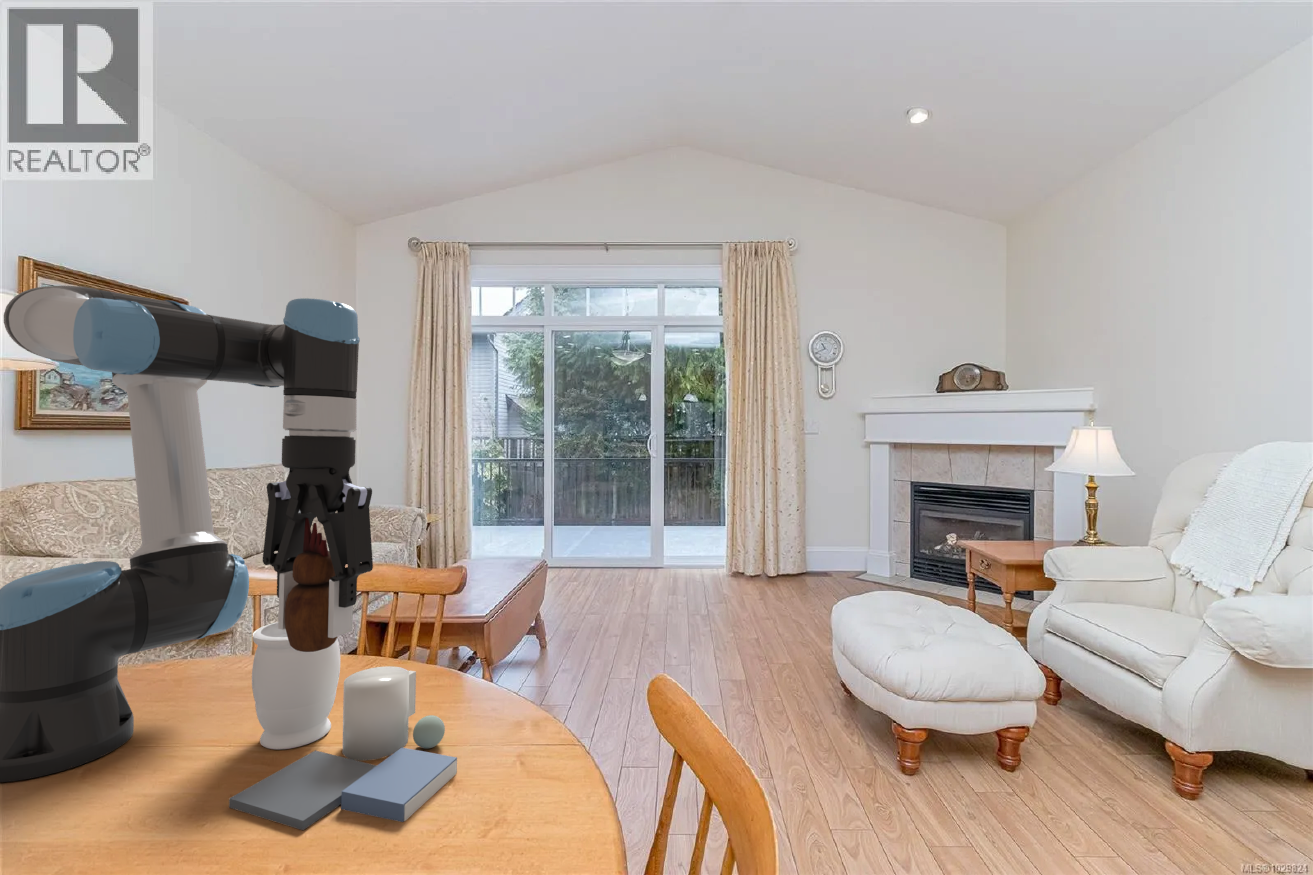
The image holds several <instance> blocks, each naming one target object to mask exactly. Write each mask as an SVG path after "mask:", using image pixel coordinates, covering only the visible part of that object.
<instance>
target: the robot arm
mask: <svg viewBox="0 0 1313 875" xmlns="http://www.w3.org/2000/svg"><path fill="white" fill-rule="evenodd" d="M282 319H283V321H282V322H283V323H282V324H269V323H262V322H255V321H250V320H243V319H237V318H230V317H224V316H220V315H219V316H218V315H212V314H207V313H206V312H205V311H204V310H202V309H200V308H199V307H196V306H193V305H188V304H185V303H180V302H178V301H176V300H175V301H174V300H169V299H168V300H167V299H166V300H161V299H158V298H157V299H156V298H150V297H144V296H138V295H133V294H125V293H121V292H114V291H110V290H103V289H98V288H92V287H86V286H79V285H78V286H76V285H47V286H39V287H38V286H37V287H33V288H30V289H27V290H24V291H21V292H20V293H18V294H17V295H15V296H14V297H13V298H11V300H9V302H8V303H7V304H6V306H5V308H4V312H3V324H4V328H5V331H6V332H7V334H8V335H9V337H10V338H11V340H13V342H15V343H16V344H17V345H18V346H19V347H20V348H21V349H24V350H25V351H27V352H29V353H31V354H34V355H36V356H39V357H40V358H41V357H42V358H44V359H49V360H51V361H56V362H61V363H63V364H64V363H66V364H70V365H76V366H84V367H85V368H87V369H89V370H94V371H102V372H108V373H109V372H111V377H112V383H113V385H115V386H116V387H118V388H119V389H121V390H122V391H125V393H127V401H128V402H127V404H128V413H129V423H130V424H129V425H130V434H131V435H130V436H131V444H132V454H133V456H132V457H133V462H134V463H133V464H134V475H135V484H136V495H137V496H136V497H137V507H138V516H139V526H140V536H141V537H140V538H141V545H140V546H139V547H138V548H137V550H136V551H134V553H132V555H131V556H130V557H129V566H130V568H129V569H122V567H120V564H119V563H118V562H116V561H111V560H108V561H107V560H99V561H93V562H88V563H87V562H86V563H83V562H82V563H75V564H68V565H63V566H59V567H53V568H50V569H45V570H42V571H37V572H35V573H31V574H28V575H24V576H22V577H19V578H17V579H14V580H12V581H10V582H8V583H6V584H4V585H3V586H2V587H1V588H0V783H7V782H8V783H9V782H15V781H23V780H29V779H34V778H38V777H39V778H40V777H43V776H48V775H52V774H55V773H59V772H60V773H61V772H63V771H66V770H70V769H72V768H75V767H76V768H77V767H78V766H81V765H84V764H86V763H89V762H92V761H95V760H96V759H99V758H102V757H103V756H106V755H108V754H109V753H111V752H113V751H115V750H117V749H118V748H119V747H121V746H123V745H124V744H125V743H127V742H128V741H129V740H130V739H131V737H133V734H134V730H135V729H134V723H135V722H134V721H135V720H134V712H133V711H132V708H131V707H130V706H131V705H130V704H129V702H128V700H127V698H126V696H125V693H124V690H123V688H122V686H121V683H120V681H119V679H118V678H119V676H118V673H119V672H118V670H119V668H118V667H119V666H118V665H119V659H120V658H119V657H123V656H125V655H130V654H136V653H140V652H144V651H148V650H154V649H156V648H161V647H166V646H167V647H168V646H170V645H173V644H179V643H183V642H188V641H193V640H200V639H203V638H205V637H208V636H211V635H214V634H218V633H222V632H225V631H227V630H229V629H231V628H232V627H233V626H234V625H235V624H236V623H238V621H239V620H240V618H241V617H242V614H243V612H244V610H245V608H246V606H247V605H246V604H247V601H248V596H249V589H250V575H249V574H250V573H249V570H248V569H249V568H248V566H247V565H246V563H245V560H244V558H243V557H242V556H240V555H238V554H233V553H229V549H228V548H229V547H228V542H227V541H225V540H224V539H222V538H221V537H219V536H217V535H216V534H215V532H214V523H213V522H214V521H213V515H212V514H213V512H212V506H211V505H212V504H211V498H210V497H211V496H210V489H209V488H210V487H209V480H208V473H207V466H206V464H207V463H206V456H205V446H204V440H203V439H204V438H203V431H202V423H201V422H202V421H201V414H200V413H201V412H200V405H199V396H198V391H199V390H200V389H201V388H202V387H203V386H204V385H206V384H207V382H208V381H215V382H227V383H239V384H247V385H248V384H249V385H252V386H255V387H263V388H264V387H265V388H268V387H269V388H272V389H273V388H279V387H281V386H283V391H282V392H283V393H282V394H283V412H282V414H283V415H282V417H283V418H282V422H283V423H282V429H283V430H285V431H288V435H284V437H283V438H281V440H282V442H281V443H282V444H281V465H282V466H283V467H284V468H287V469H289V472H288V474H287V477H286V480H284V481H275V482H269V483H267V484H266V492H267V499H268V505H267V506H268V508H267V515H266V516H267V517H266V524H265V532H264V533H265V534H264V541H263V542H264V543H263V554H262V563H263V565H264V566H271V567H273V570H274V571H275V572H276V595H277V596H276V597H277V599H278V620H277V622H278V629H282V630H283V629H285V604H286V599H287V596H288V594H289V592H290V591H291V589H292V588H293V587H294V586H295V585H297V584H298V583H297V582H296V581H294V579H293V563H294V560H295V558H296V557H297V555H299V554H301V553H303V545H304V531H305V519H306V518H308V519H309V523H310V528H312V526H313V523H314V522H313V521H314V520H315V519H317V521H318V523H320V524H321V525H322V528H323V532H324V535H325V540H326V542H327V548H328V551H329V552H330V556H331V560H332V564H333V568H334V572H335V576H333V577H331V578H330V579H331V580H329V613H328V637H329V638H335V637H337V638H339V636H342V635H343V636H344V635H346V634H348V633H350V632H353V615H354V606H355V605H356V603H357V594H358V593H357V590H358V577H359V576H360V575H363V574H366V573H369V572H371V571H373V568H374V561H373V546H372V531H371V529H372V528H371V516H370V504H371V500H372V494H373V489H372V488H371V487H370V486H358V485H355V484H353V482H352V479H351V476H350V470H351V468H353V467H354V466H355V464H356V444H357V441H356V439H355V437H353V436H351V433H354V432H356V430H357V392H358V371H359V369H358V368H359V350H360V349H359V348H360V346H359V345H360V337H359V327H358V326H359V324H358V323H359V321H358V320H359V319H358V314H357V312H356V310H355V309H354V308H353V307H352V306H350V305H348V304H346V303H342V302H338V301H333V300H327V299H320V298H308V297H307V298H305V297H303V298H301V297H300V298H294V299H291V300H290V301H289V302H288V303H287V305H286V307H285V313H284V316H283V318H282ZM346 565H347V566H346Z"/></svg>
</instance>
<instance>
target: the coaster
mask: <svg viewBox="0 0 1313 875" xmlns="http://www.w3.org/2000/svg"><path fill="white" fill-rule="evenodd" d="M377 765H378V764H376V765H375V764H372V763H368V762H364V761H361V760H352V759H349V758H347V757H345V756H344V757H343V756H340V755H337V754H332V753H327V752H325V751H320V750H316V749H315V750H314V751H312V752H310V753H309V754H306V755H305V756H303V757H301V758H299V759H297V760H295V761H294V762H292V763H290V764H288V765H286V766H284V767H283V768H281V769H279V770H277V771H276V772H273V773H272V774H270V775H269V776H267V777H265V778H263V779H262V780H259V781H257V782H256V783H255V784H252V785H251V786H248V787H247V788H245V789H243V790H242V791H240V792H238V793H237V794H234V795H233V796H231V797H229V799H228V808H230V809H234V810H235V811H239V812H242V813H246V814H249V815H252V816H255V817H258V818H261V819H265V820H268V821H271V822H275V823H277V824H282V825H284V826H289V827H291V828H294V829H297V830H301V831H304V830H306V829H307V828H309V827H310V826H311V825H313V824H315V822H317V821H319V820H320V819H322V818H323V817H324V816H326V815H328V814H329V813H330V812H333V810H335V809H336V808H338V807H339V806H341V796H342V791H343V790H344V789H346V788H347V787H348V786H350V785H351V784H352V783H354V782H355V781H357V780H358V779H359V778H361V777H362V776H363V775H365V774H366V773H368V772H369V771H370V770H372V769H373V768H374V767H376V766H377Z"/></svg>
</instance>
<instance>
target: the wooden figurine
mask: <svg viewBox="0 0 1313 875" xmlns="http://www.w3.org/2000/svg"><path fill="white" fill-rule="evenodd" d="M311 528H312V529H311ZM311 528H310V523H309V519H308V518H306V519H305V531H304V545H303V553H301V554H299V555H297V557H296V558H295V560H294V563H293V579H294V581H296V582H297V583H298V584H297V585H295V586H294V587H293V588H292V589H291V591H290V592H289V594H288V596H287V599H286V604H285V629H286V633H287V637H288V640H289V643H290V646H291V647H292V648H294V649H295V650H297V651H302V652H315V651H319V650H322V649H326V648H328V647H330V646H331V645H332V644H333V643H335V641H336V639H338V637H335V638H329V637H328V613H329V580H331V579H330V578H331V577H333V576H335V572H334V568H333V564H332V560H331V556H330V552H329V548H328V544H327V540H326V539H323V533H322V532H318V525H317V522H312V527H311Z"/></svg>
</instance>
